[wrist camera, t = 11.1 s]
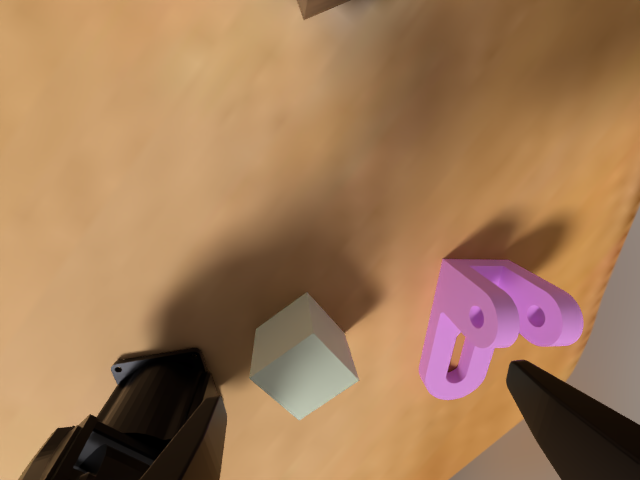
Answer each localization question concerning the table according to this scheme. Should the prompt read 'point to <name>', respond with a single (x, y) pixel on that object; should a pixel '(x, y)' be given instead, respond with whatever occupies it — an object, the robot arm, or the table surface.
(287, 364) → the sage cube
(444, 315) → the bracket
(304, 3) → the walnut block
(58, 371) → the table surface
